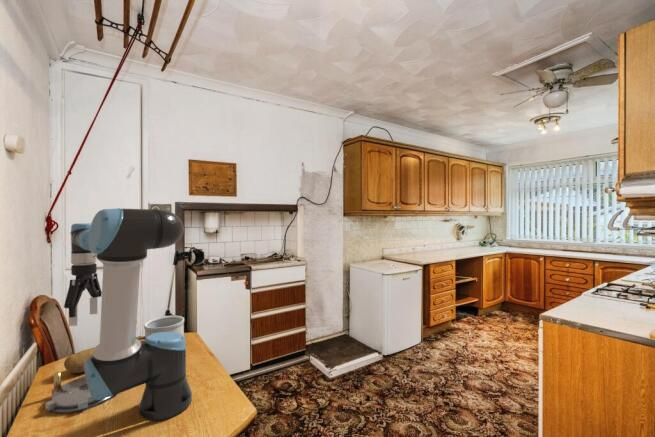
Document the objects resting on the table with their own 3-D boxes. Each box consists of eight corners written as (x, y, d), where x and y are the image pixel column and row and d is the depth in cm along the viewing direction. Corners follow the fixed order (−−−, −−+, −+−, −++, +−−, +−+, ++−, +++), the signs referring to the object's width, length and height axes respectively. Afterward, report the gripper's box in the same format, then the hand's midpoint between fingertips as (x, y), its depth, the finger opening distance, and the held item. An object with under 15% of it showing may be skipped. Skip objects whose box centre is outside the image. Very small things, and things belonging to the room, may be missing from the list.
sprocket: (120, 398, 100) (120, 377, 100) (40, 420, 89) (39, 397, 89) (122, 371, 118) (122, 353, 118) (55, 386, 107) (55, 367, 107)
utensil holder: (157, 375, 117) (157, 330, 117) (137, 365, 125) (136, 323, 125) (191, 359, 129) (191, 319, 129) (171, 351, 137) (171, 313, 137)
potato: (112, 364, 126) (112, 345, 126) (72, 381, 113) (72, 359, 113) (97, 360, 130) (97, 341, 130) (58, 375, 117) (57, 355, 117)
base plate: (120, 400, 101) (120, 398, 101) (42, 421, 90) (42, 418, 90) (122, 375, 117) (122, 373, 117) (56, 390, 107) (56, 388, 107)
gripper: (75, 268, 104) (76, 330, 104) (111, 259, 128) (111, 309, 128) (50, 269, 102) (50, 332, 102) (90, 259, 127) (91, 310, 127)
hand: (84, 319), depth 115 cm, fingers open, 13 cm apart
